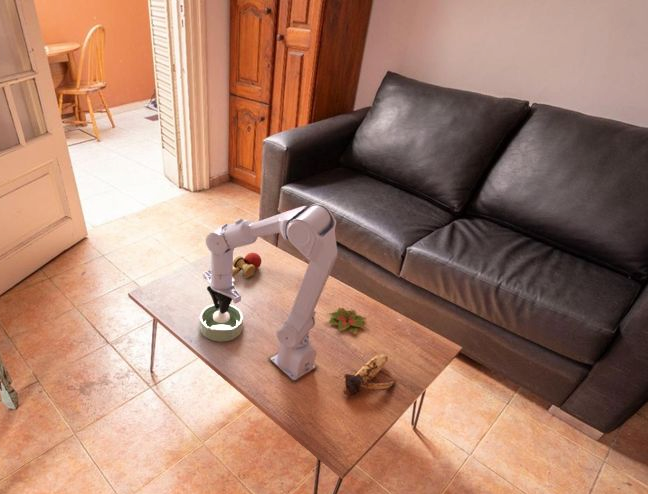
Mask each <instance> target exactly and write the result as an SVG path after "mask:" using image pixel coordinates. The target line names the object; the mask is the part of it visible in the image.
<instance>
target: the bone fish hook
mask: <svg viewBox="0 0 648 494" xmlns="http://www.w3.org/2000/svg"><path fill="white" fill-rule="evenodd" d="M387 361H388V355H387V354H386V353H379V354H376V355H375V356H374V357H372V358H371V359H370V360H368V361H367V362H366V363H365V364H364V365H363V366H362V367H361V368H360V369H359V370H358V371H357V372H356V373H355V374H349V373H344V375H343V377H344V379H345V380H344V383H345V387H344V388H343V394H344V395H345V396H347V397H348V398H349V397H350V398H351V397H353V396H356V395H357V394H359V393H360V391H361V390H366V391H370V392H371V391H373V392H377V391H384V390H387V389H390V388H391V387H392V386H393V385H394V382H395V381H394V380H392V381H389V382H383V383H382V382H381V383H380V382H379V383H375V382H371V381H372V380H373V379H374V378H376V376H377V375H378V373H379V372H380V371H381V370H382V369H383V367H384V366H385V364H386V363H387Z"/></svg>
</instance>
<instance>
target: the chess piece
mask: <svg viewBox="0 0 648 494" xmlns="http://www.w3.org/2000/svg"><path fill="white" fill-rule="evenodd" d="M218 304H219V302H218ZM229 319H230V315H229V313H228V312H225V313H223V314H221V313H220V308H219V311H216V312H215V313H214V314H213V320H214V321H216V322H218V323H225V322H227V321H228V320H229Z"/></svg>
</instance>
